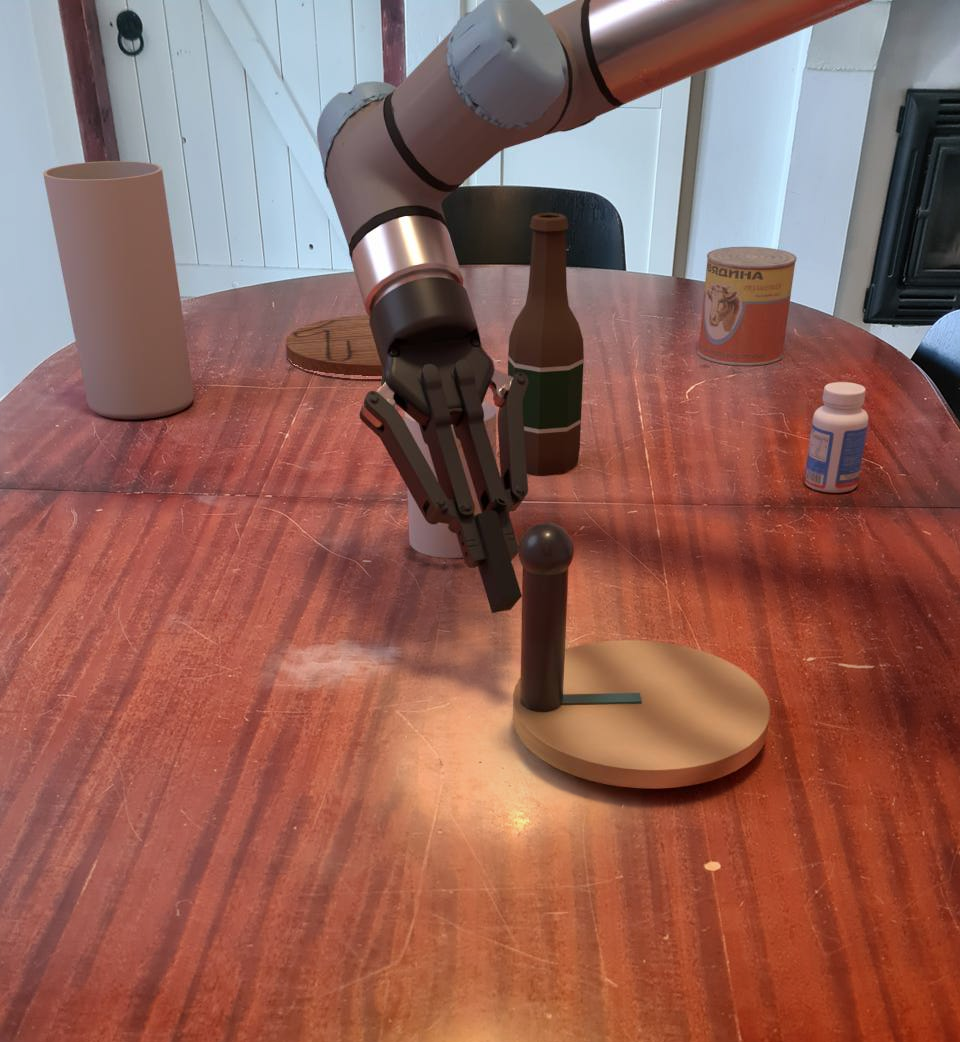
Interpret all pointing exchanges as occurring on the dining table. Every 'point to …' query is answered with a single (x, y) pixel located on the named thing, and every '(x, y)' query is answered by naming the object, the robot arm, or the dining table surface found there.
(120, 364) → the cylinder vase
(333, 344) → the trivet
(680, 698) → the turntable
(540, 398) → the beer bottle
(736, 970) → the dining table surface
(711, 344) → the canned food
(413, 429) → the white cylinder
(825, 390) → the pill bottle
